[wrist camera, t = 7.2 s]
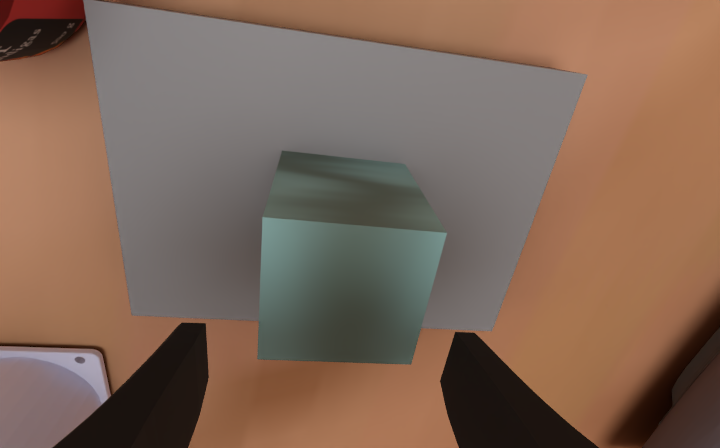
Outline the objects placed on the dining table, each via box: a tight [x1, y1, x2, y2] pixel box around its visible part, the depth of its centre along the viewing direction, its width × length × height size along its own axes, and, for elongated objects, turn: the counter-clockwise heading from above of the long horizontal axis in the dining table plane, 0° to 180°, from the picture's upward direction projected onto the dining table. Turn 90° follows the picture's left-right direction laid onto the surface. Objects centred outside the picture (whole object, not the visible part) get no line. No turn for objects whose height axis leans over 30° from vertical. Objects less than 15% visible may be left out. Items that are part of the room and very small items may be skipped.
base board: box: [83, 0, 587, 331], centre depth 18 cm, size 18×13×2 cm
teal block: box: [257, 150, 447, 364], centre depth 14 cm, size 5×5×6 cm
